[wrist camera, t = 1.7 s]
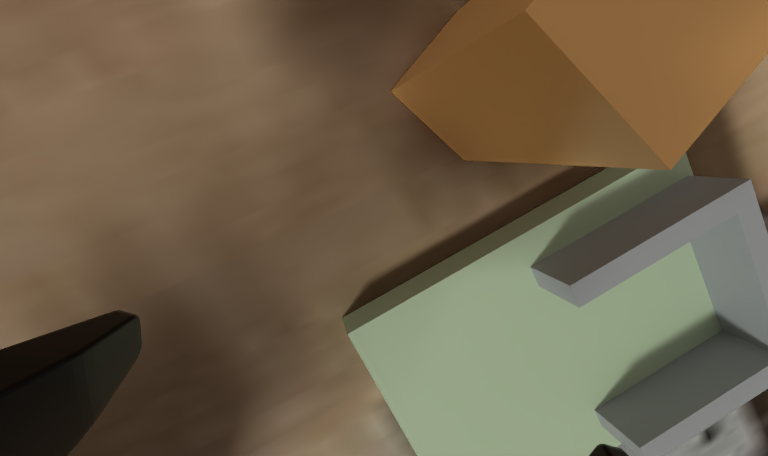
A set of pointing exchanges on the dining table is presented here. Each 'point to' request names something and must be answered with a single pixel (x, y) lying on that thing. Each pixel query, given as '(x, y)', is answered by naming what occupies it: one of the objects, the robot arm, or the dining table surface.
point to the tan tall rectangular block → (584, 78)
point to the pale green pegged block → (582, 323)
